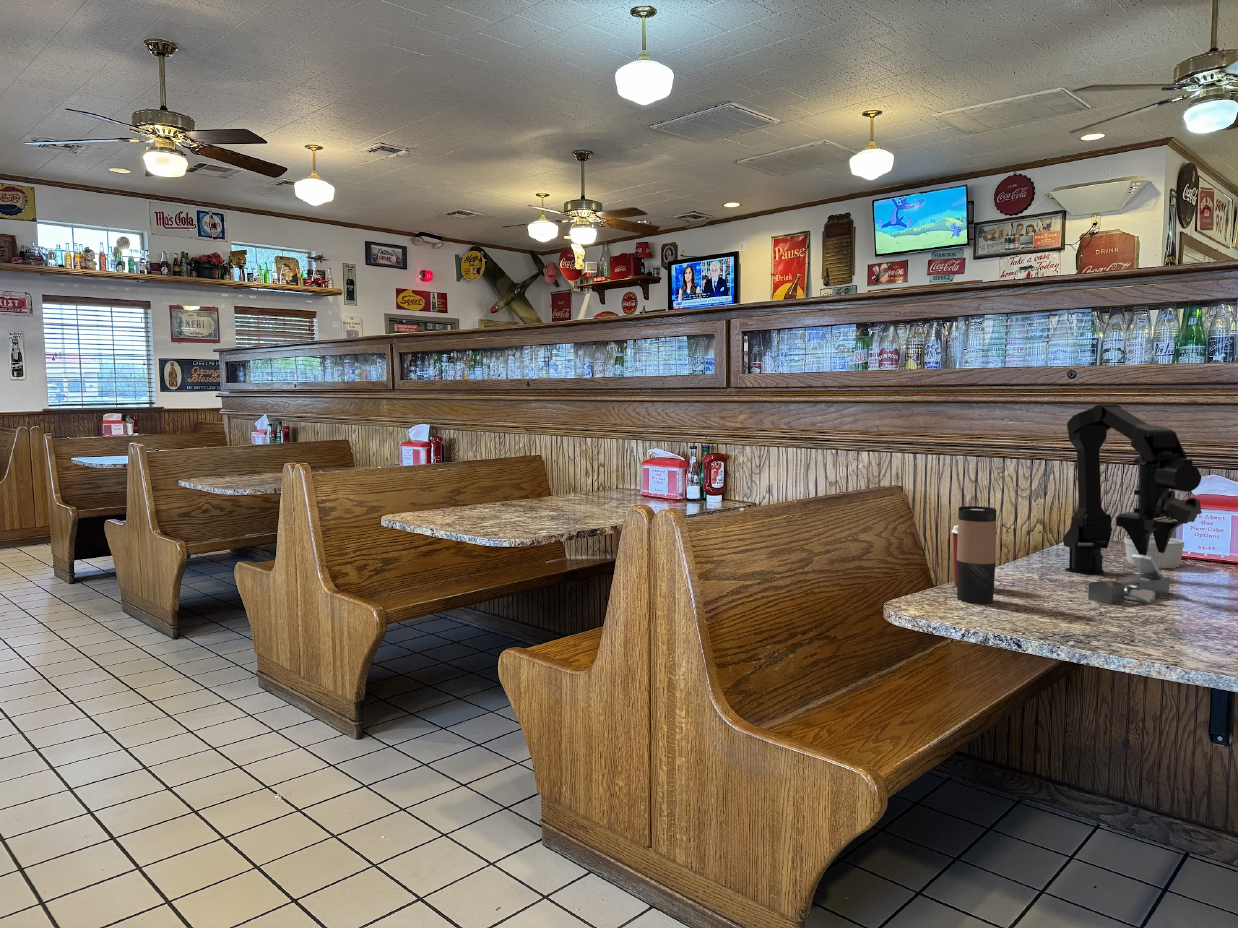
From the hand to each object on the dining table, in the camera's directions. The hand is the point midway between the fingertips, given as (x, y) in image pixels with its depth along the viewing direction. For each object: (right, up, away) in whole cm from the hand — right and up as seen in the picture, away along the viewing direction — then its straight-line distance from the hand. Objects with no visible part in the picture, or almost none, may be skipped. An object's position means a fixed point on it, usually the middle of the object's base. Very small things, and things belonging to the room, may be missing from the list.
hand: (1152, 554), depth 181 cm
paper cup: (-38, -8, +7) cm, 40 cm away
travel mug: (-42, -9, -6) cm, 44 cm away
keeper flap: (0, -4, 0) cm, 4 cm away
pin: (-9, -9, -5) cm, 14 cm away
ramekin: (+21, -7, +32) cm, 39 cm away
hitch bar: (-7, -9, -3) cm, 12 cm away
